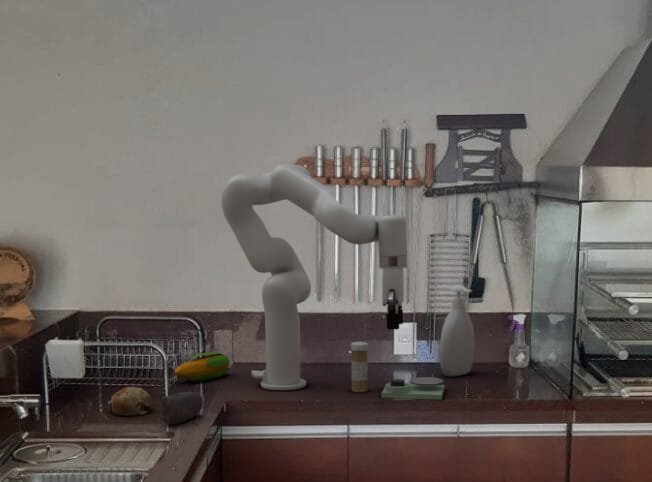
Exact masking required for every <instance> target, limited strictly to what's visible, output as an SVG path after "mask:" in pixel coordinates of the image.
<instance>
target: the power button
mask: <svg viewBox="0 0 652 482" xmlns="http://www.w3.org/2000/svg"><path fill="white" fill-rule="evenodd" d="M390 383H391V386H394V387H401V386H404V383H405V379H400V378H395V379H394V378H393V379H391V380H390Z"/></svg>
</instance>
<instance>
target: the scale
mask: <svg viewBox="0 0 652 482" xmlns="http://www.w3.org/2000/svg"><path fill="white" fill-rule="evenodd" d="M444 392H445V384H441V385H435V386H421V385H415V384H412V383H407V382H404V386H401V387H394V386H391V382H388V383H385V385H384V388H383V390H382V391H381V393H380V394H381V397H380V398H382V399H383V398H384V399H409V400H413V399H415V400H436V401H437V400H438V401H439V400H440V401H441V400H442V399H443V397H444Z"/></svg>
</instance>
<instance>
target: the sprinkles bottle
mask: <svg viewBox="0 0 652 482" xmlns="http://www.w3.org/2000/svg"><path fill="white" fill-rule="evenodd" d="M350 350H351V389H350V390H351V391H352V392H353V393H367V392H368V389H369V388H368V375H369V373H368V372H369V371H368V369H369V368H368V367H369V366H368V365H369V364H368V362H369V361H368V351H369V343H368V342H365V341H354V342H351V344H350Z"/></svg>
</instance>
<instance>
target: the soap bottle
mask: <svg viewBox="0 0 652 482" xmlns="http://www.w3.org/2000/svg"><path fill="white" fill-rule="evenodd" d="M450 292H451V293H456V297H453V299H451V309H450V311H449V312H448V314H447V315H446V317H445V320H444V322H443V326H442V329H441V334H440V342H439V363H440V369H441V371H442V374H443V375H444V376H445V377H449V378H454V377H460V376H466V375H467V374H469V373H470V372H471V370H472V367H473V363H474V358H475V331H474V330H475V329H474V324H473V322H472V319H471V317H470V315H469V313H468V312H467V310H466V308H465V307H466V305H465V302H466V300H465V299H464V298H463V297H461V293H467V294H470V293H473V289H468V288H467V287H465V286H463V285H462V284H456V285H454V286H452V287H451V288H450Z"/></svg>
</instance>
